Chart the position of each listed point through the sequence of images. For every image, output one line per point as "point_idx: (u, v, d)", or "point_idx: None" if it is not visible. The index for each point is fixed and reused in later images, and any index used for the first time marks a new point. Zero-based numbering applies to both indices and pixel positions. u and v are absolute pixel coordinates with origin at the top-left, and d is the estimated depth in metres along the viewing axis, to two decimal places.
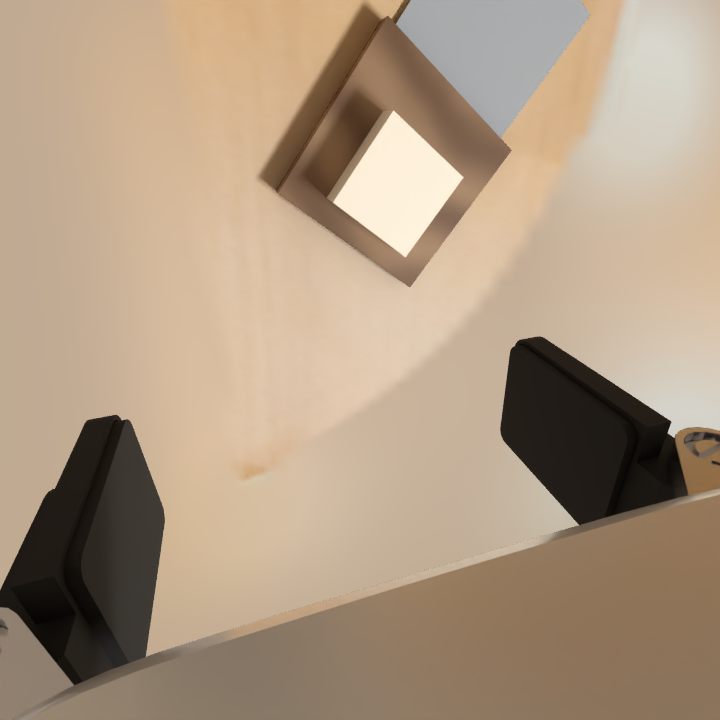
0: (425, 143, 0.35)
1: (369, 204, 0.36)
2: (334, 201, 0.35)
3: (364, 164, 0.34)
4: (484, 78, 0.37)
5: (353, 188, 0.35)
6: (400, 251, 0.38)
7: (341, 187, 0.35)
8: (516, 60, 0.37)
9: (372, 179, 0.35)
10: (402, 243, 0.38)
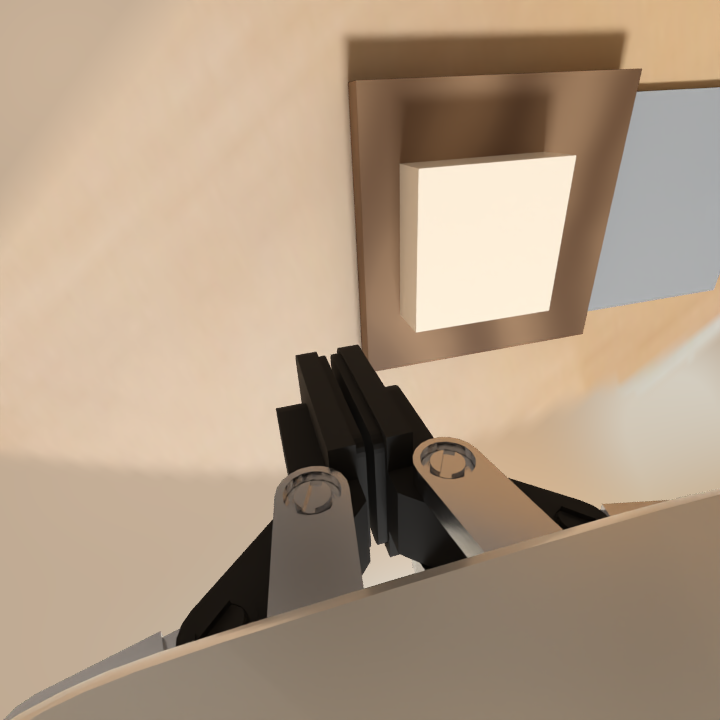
0: (560, 231, 0.23)
1: (449, 225, 0.21)
2: (421, 170, 0.19)
3: (494, 172, 0.20)
4: (622, 242, 0.28)
5: (455, 183, 0.20)
6: (418, 319, 0.23)
7: (443, 165, 0.20)
8: (651, 259, 0.30)
9: (482, 199, 0.21)
10: (430, 313, 0.23)
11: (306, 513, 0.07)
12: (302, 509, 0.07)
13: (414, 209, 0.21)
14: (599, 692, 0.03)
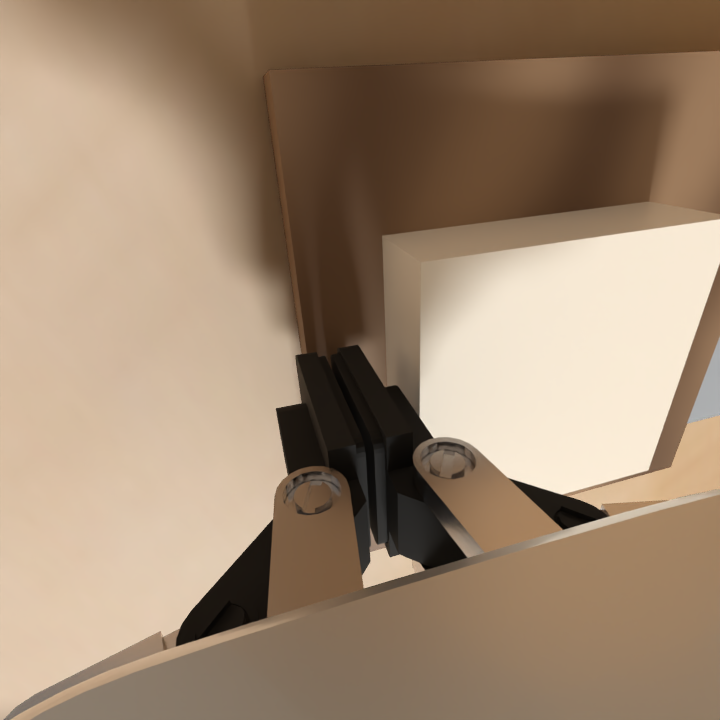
0: (686, 350, 0.12)
1: (483, 361, 0.10)
2: (426, 264, 0.09)
3: (577, 258, 0.10)
4: None
5: (498, 284, 0.09)
6: None
7: (472, 250, 0.09)
8: None
9: (550, 310, 0.10)
10: None
11: (306, 513, 0.07)
12: (302, 509, 0.07)
13: (412, 334, 0.10)
14: (599, 692, 0.03)
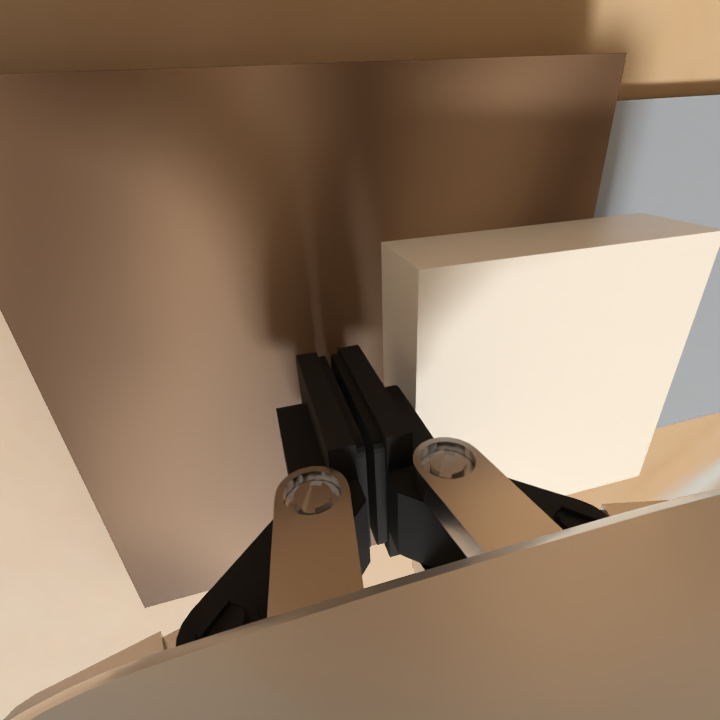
0: (676, 358, 0.12)
1: (477, 366, 0.11)
2: (424, 271, 0.09)
3: (570, 268, 0.10)
4: None
5: (493, 292, 0.10)
6: None
7: (469, 258, 0.10)
8: None
9: (544, 317, 0.10)
10: None
11: (306, 513, 0.07)
12: (302, 509, 0.07)
13: (409, 339, 0.10)
14: (599, 691, 0.03)
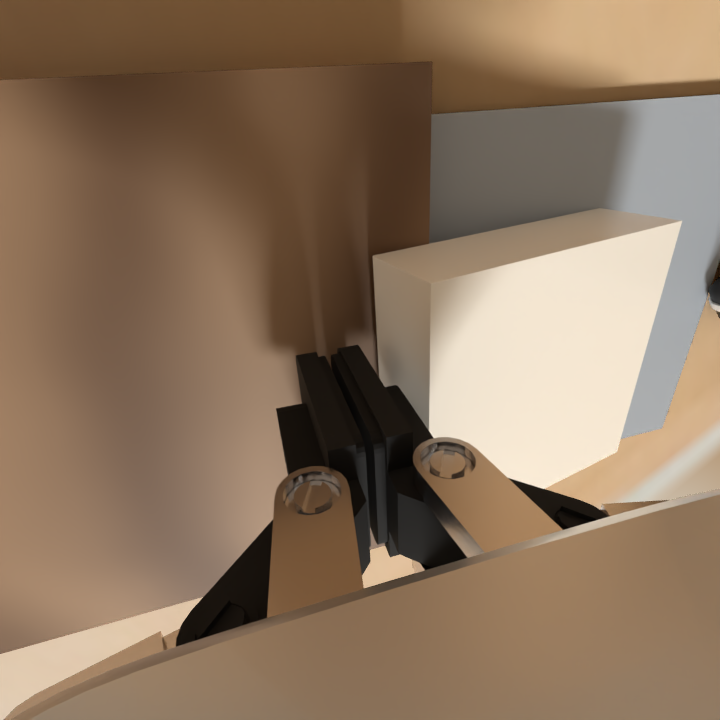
0: (645, 341, 0.13)
1: (484, 372, 0.11)
2: (435, 284, 0.09)
3: (562, 267, 0.10)
4: None
5: (497, 298, 0.10)
6: None
7: (473, 266, 0.10)
8: None
9: (540, 317, 0.11)
10: None
11: (306, 513, 0.07)
12: (302, 509, 0.07)
13: (418, 353, 0.10)
14: (599, 692, 0.03)
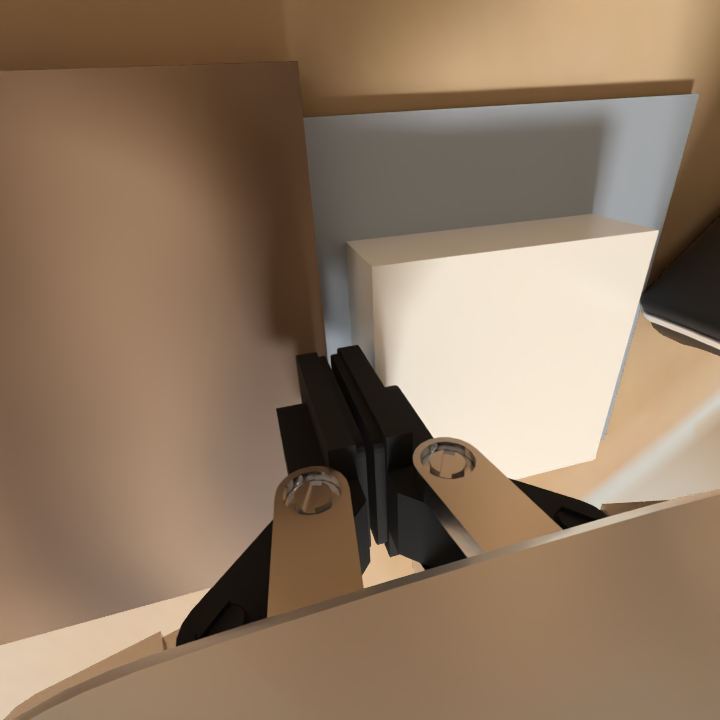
0: (622, 349, 0.13)
1: (432, 355, 0.12)
2: (377, 268, 0.10)
3: (514, 265, 0.11)
4: None
5: (443, 287, 0.11)
6: None
7: (420, 256, 0.11)
8: None
9: (492, 310, 0.11)
10: None
11: (306, 513, 0.07)
12: (302, 509, 0.07)
13: (369, 330, 0.11)
14: (599, 692, 0.03)
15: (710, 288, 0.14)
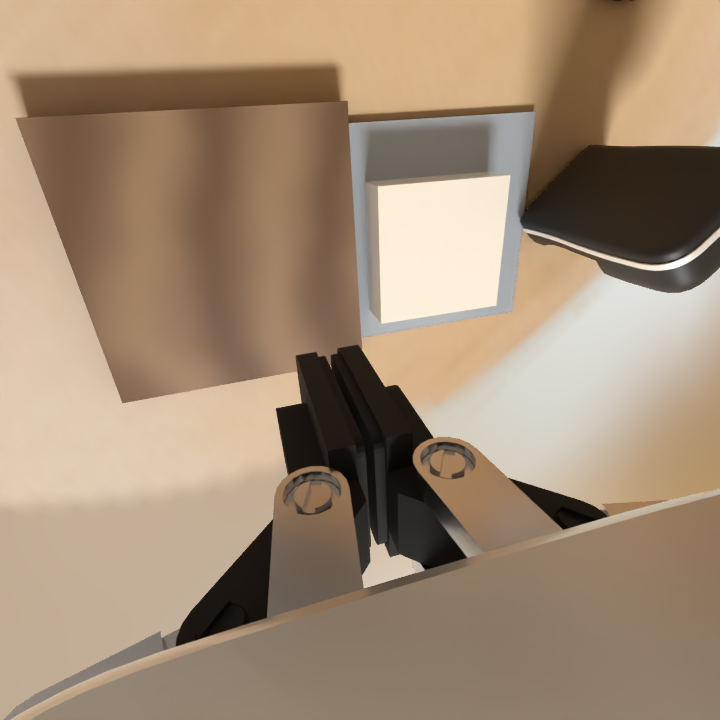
0: (501, 237, 0.27)
1: (405, 232, 0.25)
2: (380, 187, 0.24)
3: (441, 189, 0.24)
4: None
5: (409, 198, 0.24)
6: (382, 312, 0.27)
7: (398, 183, 0.24)
8: None
9: (432, 211, 0.25)
10: (393, 307, 0.27)
11: (306, 513, 0.07)
12: (302, 509, 0.07)
13: (376, 219, 0.25)
14: (599, 692, 0.03)
15: (548, 209, 0.27)
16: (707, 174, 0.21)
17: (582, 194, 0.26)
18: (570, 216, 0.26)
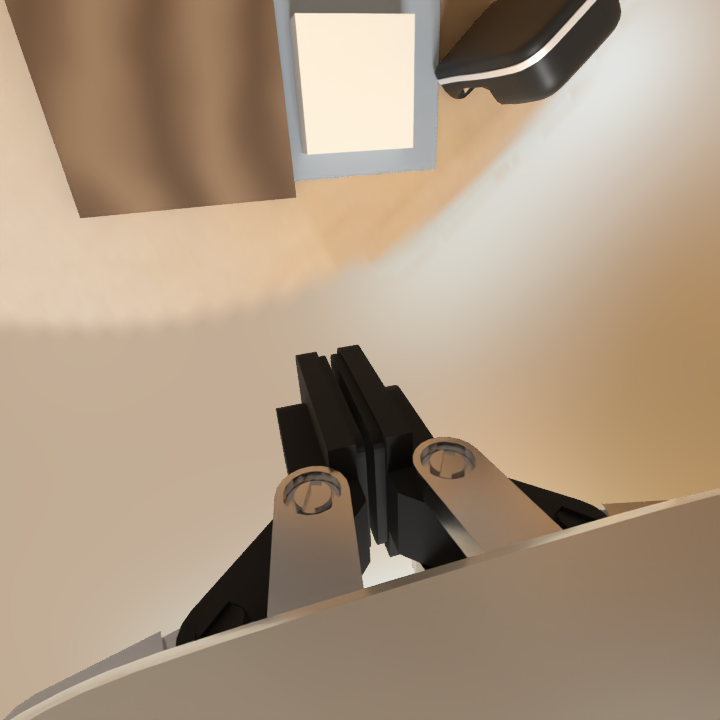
0: (412, 77, 0.31)
1: (323, 62, 0.29)
2: (296, 14, 0.27)
3: (352, 21, 0.28)
4: None
5: (323, 27, 0.28)
6: (308, 143, 0.31)
7: (314, 14, 0.28)
8: None
9: (346, 43, 0.29)
10: (317, 138, 0.31)
11: (306, 513, 0.07)
12: (302, 509, 0.07)
13: (297, 49, 0.29)
14: (599, 692, 0.03)
15: (454, 55, 0.31)
16: None
17: (480, 35, 0.30)
18: (468, 52, 0.30)
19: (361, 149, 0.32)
